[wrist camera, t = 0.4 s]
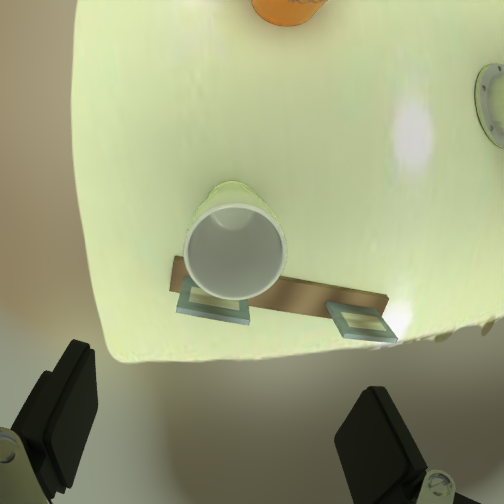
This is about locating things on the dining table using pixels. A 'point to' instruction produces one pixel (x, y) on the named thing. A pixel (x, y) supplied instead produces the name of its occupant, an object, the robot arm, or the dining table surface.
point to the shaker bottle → (287, 10)
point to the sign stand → (290, 304)
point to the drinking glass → (234, 244)
